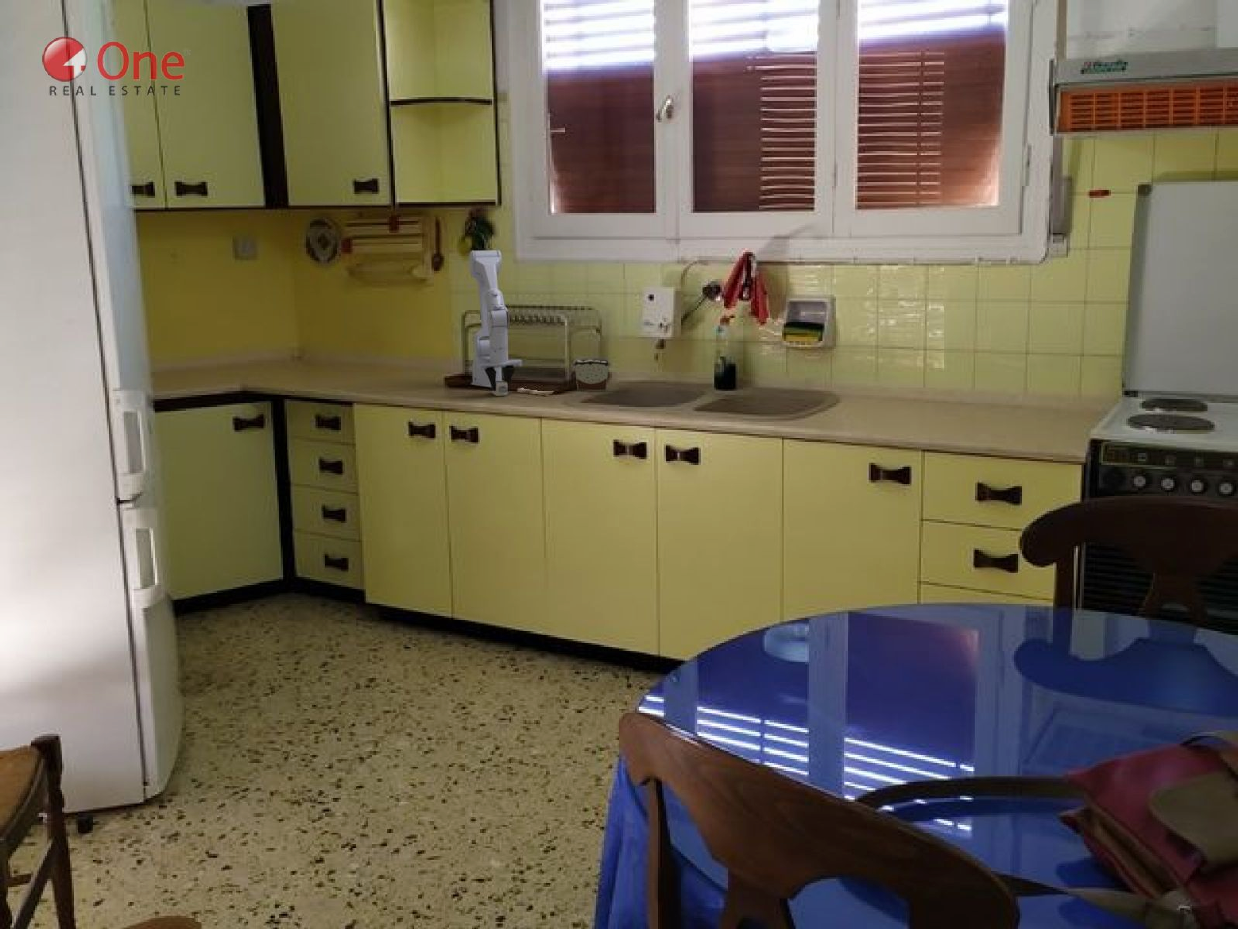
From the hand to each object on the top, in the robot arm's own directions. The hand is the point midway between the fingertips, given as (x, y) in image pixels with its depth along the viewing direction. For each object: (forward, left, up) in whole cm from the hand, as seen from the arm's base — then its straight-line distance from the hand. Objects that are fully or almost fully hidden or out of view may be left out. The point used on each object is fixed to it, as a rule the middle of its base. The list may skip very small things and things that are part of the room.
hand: (500, 389), depth 375 cm
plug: (0, 0, -1) cm, 1 cm away
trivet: (+8, +12, -1) cm, 14 cm away
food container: (+19, +24, -2) cm, 31 cm away
